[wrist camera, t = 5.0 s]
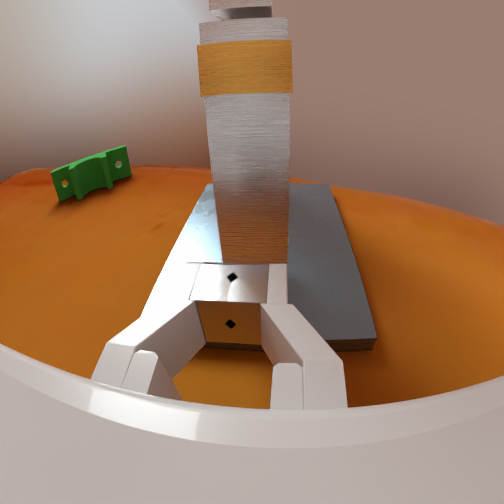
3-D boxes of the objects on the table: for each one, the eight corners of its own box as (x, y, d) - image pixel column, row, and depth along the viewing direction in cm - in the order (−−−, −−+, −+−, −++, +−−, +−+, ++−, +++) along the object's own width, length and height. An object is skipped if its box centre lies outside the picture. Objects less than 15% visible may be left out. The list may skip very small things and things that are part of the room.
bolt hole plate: (141, 339, 14) (134, 326, 13) (208, 192, 28) (207, 182, 27) (371, 349, 13) (377, 336, 12) (327, 193, 27) (328, 183, 26)
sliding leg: (225, 296, 14) (195, 23, 7) (233, 258, 17) (214, 34, 9) (287, 298, 14) (290, 17, 7) (286, 259, 17) (287, 30, 9)
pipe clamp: (58, 210, 29) (47, 178, 26) (60, 200, 32) (51, 171, 29) (135, 181, 34) (128, 148, 31) (131, 173, 36) (124, 144, 33)
